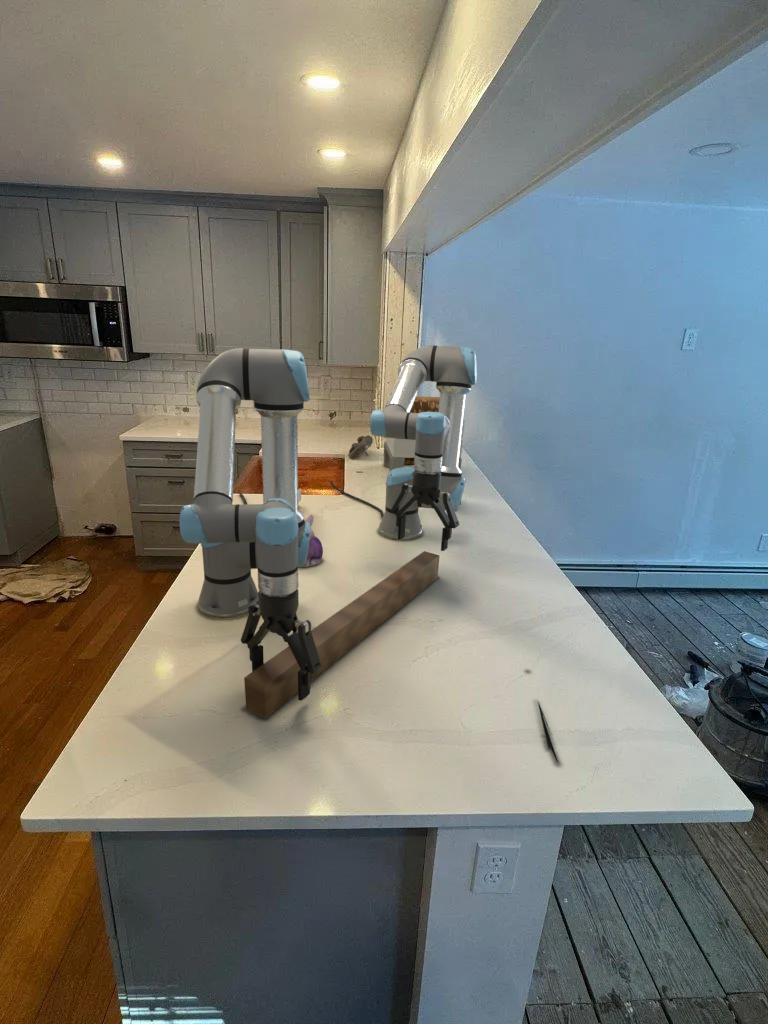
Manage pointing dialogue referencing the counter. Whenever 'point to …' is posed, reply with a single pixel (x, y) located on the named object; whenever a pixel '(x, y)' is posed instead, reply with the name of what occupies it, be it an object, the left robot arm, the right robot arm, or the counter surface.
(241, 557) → the left robot arm
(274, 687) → the bar
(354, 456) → the fossil
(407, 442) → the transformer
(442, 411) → the right robot arm
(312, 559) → the figurine
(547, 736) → the feather
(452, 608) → the counter surface
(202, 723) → the counter surface
